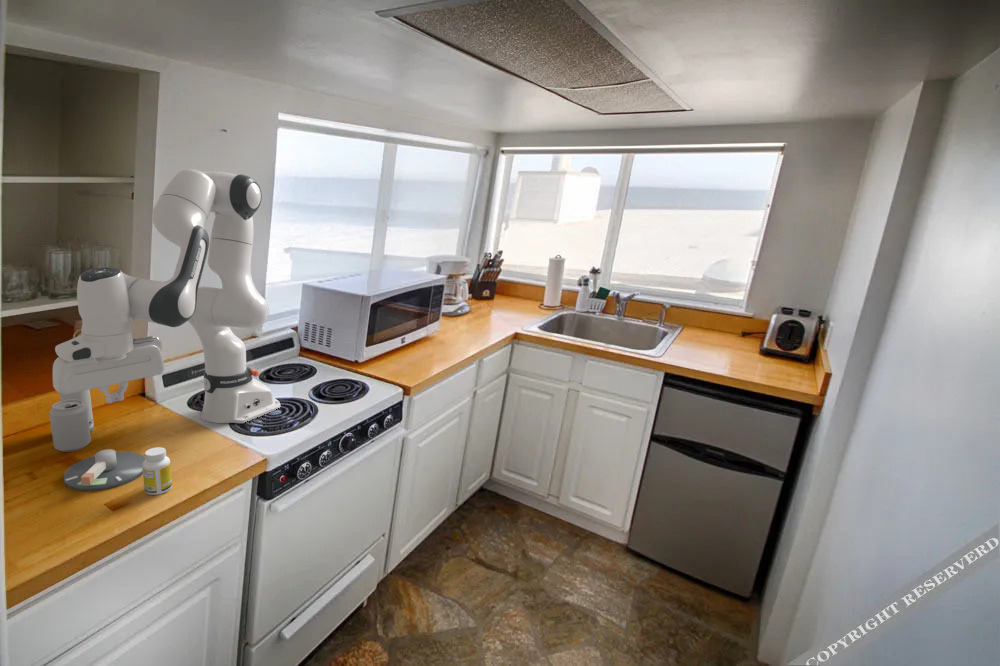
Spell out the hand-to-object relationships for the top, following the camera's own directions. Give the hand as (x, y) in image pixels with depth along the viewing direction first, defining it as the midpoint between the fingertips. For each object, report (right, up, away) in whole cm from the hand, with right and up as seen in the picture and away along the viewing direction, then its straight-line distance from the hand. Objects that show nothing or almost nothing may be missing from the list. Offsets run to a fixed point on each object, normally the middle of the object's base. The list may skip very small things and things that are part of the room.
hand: (115, 401), depth 119 cm
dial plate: (-8, -18, +8) cm, 21 cm away
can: (-24, -14, +17) cm, 32 cm away
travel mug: (-28, -12, +25) cm, 39 cm away
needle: (-7, -18, +4) cm, 19 cm away
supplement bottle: (+7, -21, +4) cm, 23 cm away
